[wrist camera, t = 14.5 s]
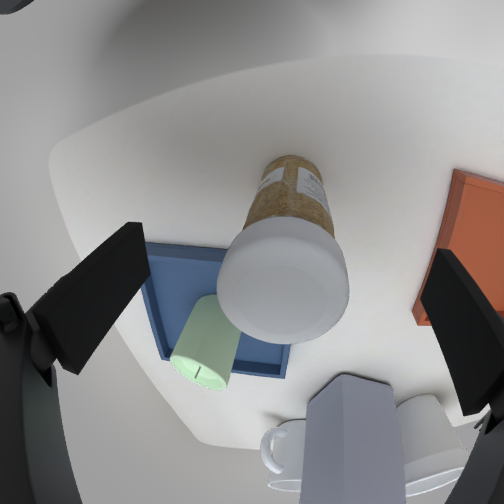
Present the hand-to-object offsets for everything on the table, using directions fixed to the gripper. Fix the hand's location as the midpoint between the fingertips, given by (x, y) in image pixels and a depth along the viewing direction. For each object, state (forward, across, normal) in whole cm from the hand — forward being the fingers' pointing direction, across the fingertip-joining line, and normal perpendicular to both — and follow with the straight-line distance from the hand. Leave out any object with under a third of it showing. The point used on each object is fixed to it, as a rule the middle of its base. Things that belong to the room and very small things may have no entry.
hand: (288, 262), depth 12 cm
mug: (+11, +4, -36) cm, 37 cm away
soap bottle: (+11, +10, -26) cm, 30 cm away
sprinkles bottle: (+11, 0, 0) cm, 11 cm away
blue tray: (+11, -6, -13) cm, 18 cm away
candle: (+10, -6, -12) cm, 17 cm away
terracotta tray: (+11, +20, -4) cm, 23 cm away
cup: (+11, +22, -30) cm, 38 cm away
